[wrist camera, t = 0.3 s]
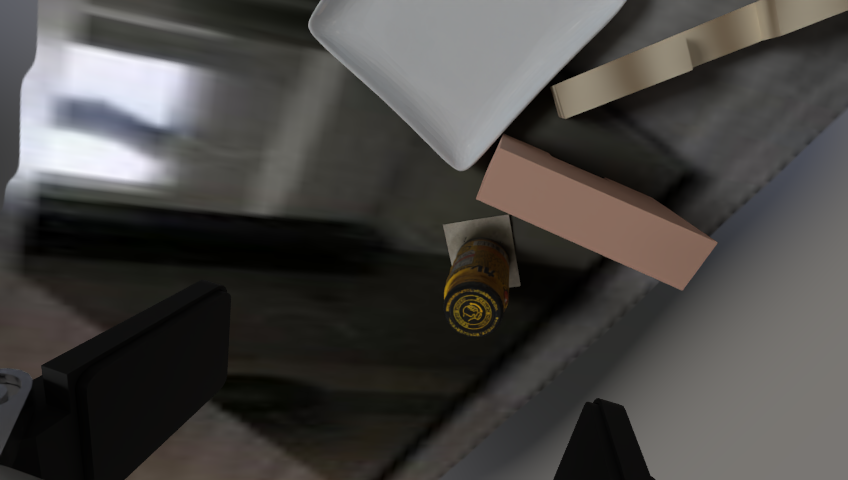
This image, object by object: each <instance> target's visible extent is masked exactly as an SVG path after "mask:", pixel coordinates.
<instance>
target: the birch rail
mask: <svg viewBox="0 0 848 480" xmlns="http://www.w3.org/2000/svg"><path fill="white" fill-rule="evenodd" d="M847 10H848V0H759V1H757V2H755V3H752V4H750V5H747V6H745V7H743V8H740V9H738V10H735V11H733V12H730V13H728V14H726V15H723V16H721V17H718V18H716V19H713V20H711V21H709V22H706V23H704V24H701V25H699V26H696V27H694V28H692V29H689V30H687V31H684V32H682V33H679V34H677V35H674V36H672V37H670V38H667V39H665V40H662V41H660V42H657V43H655V44H653V45H650V46H648V47H645V48H643V49H640V50H638V51H636V52H633V53H631V54H628V55H626V56H623V57H621V58H619V59H616V60H614V61H611V62H609V63H607V64H604V65H602V66H599V67H597V68H594V69H592V70H590V71H587V72H585V73H582V74H580V75H577V76H575V77H573V78H570V79H568V80H565V81H563V82H560V83H558V84H556V85H553V86H551V87H550V89H551V92H552V96H553V99H554V102H555V105H556V109H557V112H558V115H559V117H560V118H564V119H567V118H569V117H572V116H574V115H577V114H580V113H582V112H585V111H587V110H590V109H593V108H595V107H598V106H600V105H603V104H606V103H608V102H611V101H613V100H616V99H619V98H621V97H624V96H626V95H629V94H632V93H634V92H637V91H639V90H642V89H645V88H647V87H650V86H652V85H655V84H658V83H660V82H663V81H665V80H668V79H671V78H673V77H676V76H678V75H681V74H684V73H686V72H689V71H691V70H693V67H695V66H698V65H701V64H703V63H706V62H708V61H711V60H714V59H716V58H719V57H721V56H724V55H727V54H729V53H732V52H734V51H737V50H739V49H742V48H745V47H747V46H750V45H752V44H755V43H758V42H760V41H763V40H767V39H771V38H775V37H779V36H782V35H785V34H788V33H790V32H793V31H795V30H798V29H801V28H803V27H806V26H808V25H811V24H814V23H816V22H819V21H821V20H824V19H826V18H829V17H832V16H834V15H837V14H839V13H842V12H845V11H847Z"/></svg>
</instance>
